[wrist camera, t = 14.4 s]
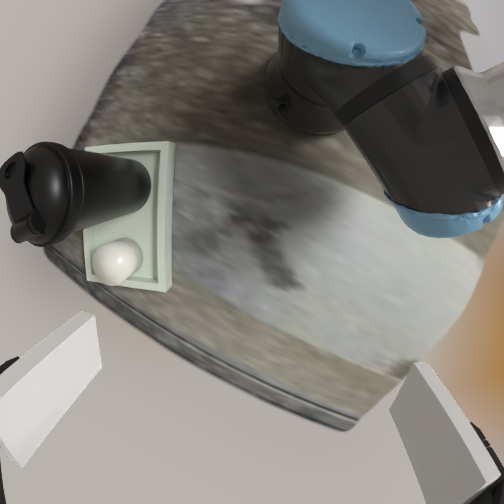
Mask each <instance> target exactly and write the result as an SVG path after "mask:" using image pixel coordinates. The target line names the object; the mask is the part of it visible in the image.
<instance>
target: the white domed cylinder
mask: <svg viewBox="0 0 504 504" xmlns="http://www.w3.org/2000/svg"><path fill="white" fill-rule="evenodd" d="M142 263H143V252H142V250H141V247H140V246H139V244H138V243H137V242H136V241H135V240H133V239H131V238H127V237H123V238H120V239H117V240H115V241H113V242H110V243H108V244H105V245H103V246H101V247H99V248H98V249H97V250H96V251H95V252H94V254H93V258H92V267H93V270H94V273H95V275H96V276H97V278H98V279H99V280H100V281H101V282H102V283H104V284H106V285H108V286H116V285H118V284H120V283H121V282H123V281H124V280H125V279H127V278H128V277H130V276H131V275H133V274H134V273H135V272H137V271H138V270H139V269H140V268H141V266H142Z"/></svg>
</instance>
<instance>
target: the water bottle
mask: <svg viewBox="0 0 504 504" xmlns="http://www.w3.org/2000/svg"><path fill="white" fill-rule="evenodd" d="M0 188H1V190H2V191H3V192H4V194H5V197H6V204H7V211H8V215H9V218H10V221H11V223H12V227H11V237H12V239H13V240H14V241H15V242H16V243H22V242H24V241H28V242H30V243H31V244H33V245H35V246H38V247H46V246H50V245H53V244H55V243H58V242H61V241H62V240H64V239H65V238H66V237H67V236H69V235H70V234H72V233H75V232H78V231H80V230H83V229H86V228H89V227H92V226H95V225H97V224H100V223H103V222H106V221H109V220H112V219H115V218H118V217H121V216H125V215H128V214H131V213H134V212H136V211H138V210H140V209H141V208H142V207H143V206H144V205H145V204H146V202H147V200H148V198H149V196H150V192H151V178H150V175H149V172H148V170H147V169H146V167H145V166H144V165H143V164H141V163H140V162H138V161H136V160H132V159H127V158H122V157H117V156H113V155H108V154H102V153H97V152H95V153H94V152H91V151H85V150H76V149H69V148H67V147H65V146H63V145H61V144H58V143H53V142H40V143H36V144H34V145H32V146H31V147H29V148H28V149H27V150H26V151H25V152H24V153H23V152H17V153H15V154H14V155H13V156H12V157H10V158H9V159H8V160H7V161H6V162H5V163H4V164H3V165H2V167H1V168H0Z"/></svg>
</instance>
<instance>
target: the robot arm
mask: <svg viewBox="0 0 504 504" xmlns="http://www.w3.org/2000/svg"><path fill="white" fill-rule="evenodd" d="M422 23H423V19H422V17H421V15H420V13H419V11H418V10H417V8H416V7H415V6H414V5H413V3H412V2H411V1H410V0H283V1H282V7H281V8H280V12H279V15H278V24H279V51H278V52H277V53H276V54H275V55H274V56H273V57H272V59H271V60H270V62H269V64H268V66H267V69H266V72H265V93H266V97H267V100H268V102H269V104H270V106H271V108H272V109H273V111H274V112H275V113H276V115H277V116H278V117H279V118H280V119H281V120H283V121H284V122H285V123H286V124H288V125H289V126H291V127H293V128H295V129H297V130H299V131H302V132H305V133H309V134H314V135H329V134H334V133H338V132H340V131H343V130H345V131H346V132H347V133H348V135H349V136H350V138H351V139H352V141H353V142H354V143H355V145H356V146H357V148H358V149H359V151H360V152H361V154H362V155H363V157H364V158H365V160H366V161H367V163H368V164H369V166H370V168H371V169H372V171H373V172H374V174H375V176H376V177H377V179H378V181H379V182H380V184H381V185H382V187H383V189H384V194H385V196H386V198H387V199H388V201H389V202H390V203H392V204H393V205H394V207H395V209H396V210H397V212H398V214H399V215H400V217H401V219H402V220H403V222H404V223H405V224H406V225H407V226H408V227H409V228H411V229H412V230H413V231H415V232H416V233H418V234H421V235H424V236H428V237H434V238H449V237H457V236H461V235H465V234H468V233H471V232H474V231H476V230H478V229H480V228H482V226H483V223H485V222H486V223H489V222H491V221H492V220H493V219H494V218H495V217H496V216H497V215H498V214H499V212H500V210H501V208H502V204H503V194H504V62H502V63H500V64H498V65H496V66H494V67H492V68H490V69H488V70H486V71H484V72H480V73H476V72H474V71H471V70H468V69H466V68H463V67H460V66H457V65H456V66H454V67H452V68H450V69H448V70H447V71H445V72H443V73H441V72H440V71H439V70H438V69H437V67H436V66H435V64H434V63H433V61H432V60H431V59H430V57H429V56H428V55H427V53H426V52H425V51H424V50H423V45H424V40H425V35H426V31H425V28H424V27H423V26H422ZM101 368H102V363H101V357H100V351H99V344H98V337H97V329H96V321H95V315H93V314H90V313H87V312H84V311H80V312H78V313H77V314H75V315H74V316H73V317H71V318H70V319H69V320H68V321H66V322H65V323H64V324H62V325H61V326H60V327H58V328H57V329H56V330H55V331H53V332H52V333H51V334H49V335H48V336H47V337H45V338H44V339H43V340H42V341H40V342H39V343H38V344H37V345H35V347H33V348H32V349H30V350H29V351H28V352H27V353H26V354H24V355H23V356H22V357H21V358H19V357H15V358H13V359H11V360H8V361H6V362H5V363H4V364H2V365H1V366H0V447H1V448H2V450H3V451H4V452H5V454H6V455H7V456H8V457H9V458H10V459H11V460H13V461H14V462H15V463H16V464H18V465H19V466H20V467H22V468H23V467H24V465H25V464H26V463H27V461H28V460H29V459H30V457H31V456H32V455H33V453H34V452H35V451H36V449H37V448H38V447H39V445H40V444H41V443H42V442H43V440H44V439H45V438H46V436H47V435H48V434H49V432H50V431H51V430H52V429H53V427H54V426H55V425H56V424H57V422H58V421H59V420H60V418H61V417H62V416H63V415H64V413H65V412H66V411H67V410H68V408H69V407H70V406H71V405H72V403H73V402H74V401H75V399H77V397H78V396H79V395H80V394H81V392H82V391H83V390H84V389H85V388H86V386H87V385H88V384H89V383H90V381H91V380H92V379H93V378H94V377H95V376H96V374H97V373H98V372H99V371H100V370H101ZM389 411H390V413H391V415H392V418H393V420H394V422H395V424H396V427H397V429H398V431H399V434H400V436H401V438H402V441H403V443H404V446H405V448H406V451H407V453H408V456H409V458H410V461H411V463H412V466H413V469H414V471H415V474H416V476H417V479H418V482H419V484H420V487H421V490H422V492H423V495H424V498H425V501H426V504H504V467H503V466H502V464H501V462H500V461H499V459H498V457H497V455H496V454H495V452H494V451H493V449H492V447H491V448H490V444H489V443H488V441H487V440H485V439H486V438H485V436H484V435H483V433H482V432H481V430H480V429H479V428H478V427H476V426H475V425H474V424H473V423H472V422H469V421H468V419H467V418H466V416H465V415H464V413H463V412H462V410H461V409H460V407H459V406H458V405H457V403H456V402H455V401H454V399H453V397H452V396H451V394H450V393H449V392H448V390H447V389H446V387H445V386H444V385H443V383H442V382H441V380H440V379H439V378H438V377H437V375H436V374H435V372H434V371H433V370H432V368H431V367H430V366H429V364H428V363H427V362H426V363H424V362H422V363H413V365H412V367H411V369H410V371H409V373H408V375H407V377H406V380H405V381H404V383H403V385H402V388H401V389H400V391H399V393H398V395H397V397H396V399H395V400H394V402H393V404H392V406H391V408H390V409H389ZM0 504H6V501H5V495H4V489H3V482H2V473H1V463H0Z"/></svg>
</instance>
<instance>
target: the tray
mask: <svg viewBox="0 0 504 504" xmlns="http://www.w3.org/2000/svg"><path fill="white" fill-rule="evenodd" d="M85 151H91V152H94V153H95V152H97V153H102V154H108V155H113V156H117V157H122V158H127V159H132V160H136V161H138V162H140V163H141V164H143V165H144V166H145V167H146V169H147V170H148V172H149V175H150V178H151V192H150V196H149V198H148V200H147V202H146V204H145V205H144V206H143V207H142V208H141V209H140V210H138V211H136V212H134V213H131V214H128V215H125V216H121V217H118V218H115V219H112V220H109V221H106V222H103V223H100V224H97V225H95V226H92V227H89V228H86V229H83V239H84V254H85V266H86V276H87V281H93V282H99V283H102V282H101V281H100V280H99V279H98V278H97V276H96V275H95V273H94V270H93V267H92V258H93V254H94V252H95V251H96V250H97V249H98V248H99V247H101V246H103V245H105V244H108V243H110V242H113V241H115V240H117V239H120V238H123V237H127V238H131V239H133V240H135V241H136V242H137V243H138V244H139V246H140V247H141V250H142V252H143V263H142V266H141V268H140V269H139V270H138V271H137V272H135V273H134V274H133V275H131V276H130V277H128V278H127V279H125V280H124V281H123V282H121V283H120V284H118V286H125V287H131V288H138V289H145V290H152V291H160V292H166V291H167V290H168V289H169V288H170V287H171V286H172V205H173V182H174V165H175V151H176V144H175V143H172V142H170V141H163V142H140V143H125V144H112V145H102V146H92V147H85Z"/></svg>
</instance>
